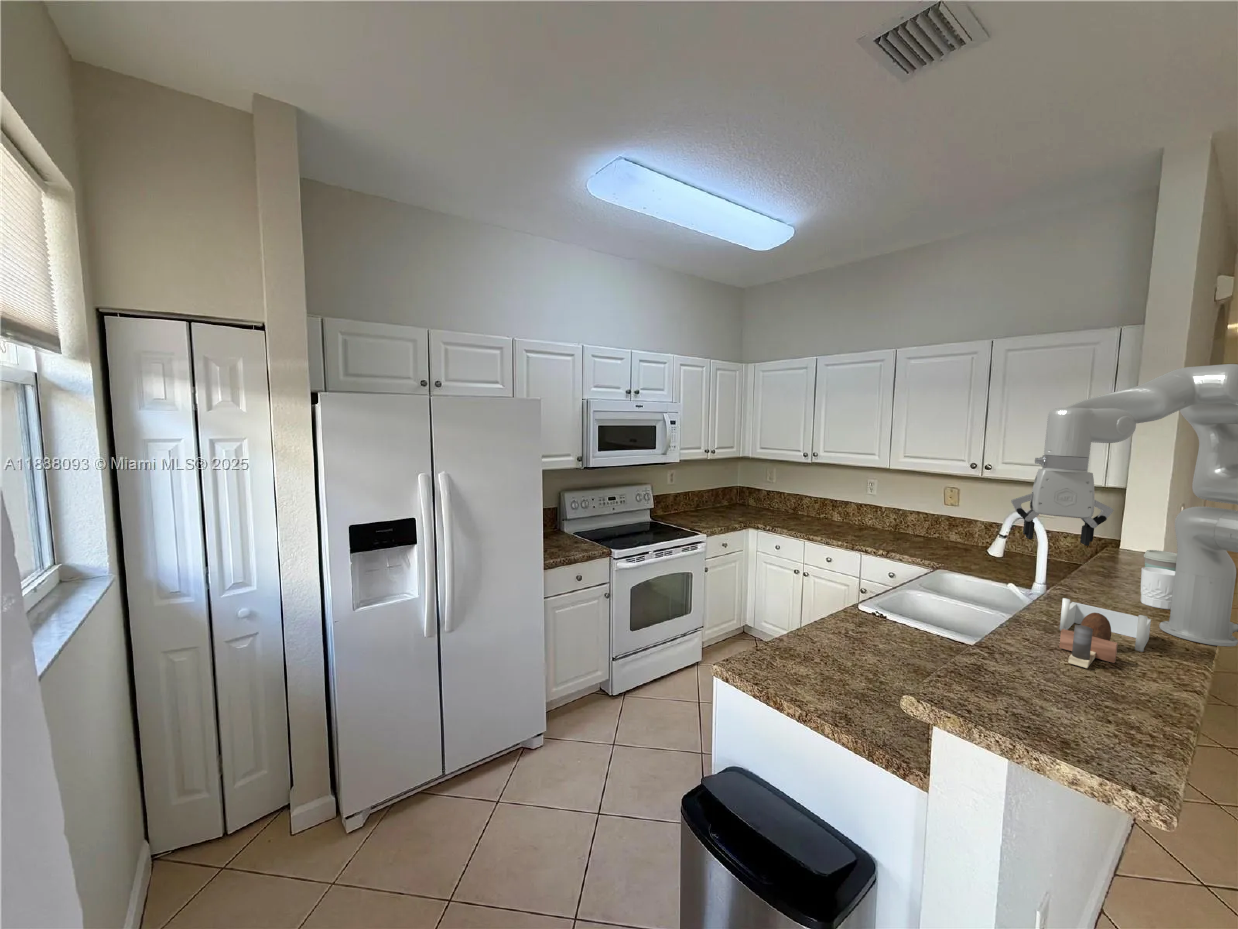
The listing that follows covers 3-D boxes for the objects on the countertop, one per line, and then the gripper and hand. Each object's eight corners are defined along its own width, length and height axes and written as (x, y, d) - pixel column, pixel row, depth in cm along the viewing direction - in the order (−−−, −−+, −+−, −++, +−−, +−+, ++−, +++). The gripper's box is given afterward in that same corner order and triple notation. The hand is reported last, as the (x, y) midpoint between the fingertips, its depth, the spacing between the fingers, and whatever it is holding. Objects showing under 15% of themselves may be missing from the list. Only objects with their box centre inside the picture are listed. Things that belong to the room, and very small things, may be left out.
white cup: (1168, 603, 147) (1172, 569, 146) (1184, 612, 140) (1188, 577, 139) (1132, 598, 150) (1136, 565, 149) (1146, 607, 143) (1150, 572, 142)
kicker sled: (1107, 674, 102) (1111, 637, 102) (1050, 657, 109) (1053, 623, 109) (1115, 661, 108) (1119, 626, 108) (1060, 645, 115) (1064, 613, 115)
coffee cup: (1173, 589, 160) (1178, 552, 158) (1184, 597, 152) (1189, 558, 151) (1135, 584, 164) (1139, 548, 163) (1144, 591, 157) (1149, 553, 156)
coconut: (1114, 653, 113) (1118, 619, 112) (1086, 650, 114) (1090, 616, 114) (1100, 644, 118) (1104, 610, 117) (1073, 640, 119) (1077, 607, 119)
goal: (1143, 652, 114) (1147, 617, 113) (1058, 630, 125) (1062, 598, 125) (1149, 640, 121) (1153, 607, 120) (1069, 620, 132) (1072, 590, 131)
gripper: (1019, 462, 112) (1011, 539, 113) (1125, 468, 104) (1115, 550, 105) (1012, 460, 118) (1004, 533, 120) (1110, 466, 110) (1101, 543, 112)
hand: (1056, 541), depth 112 cm, fingers open, 9 cm apart
